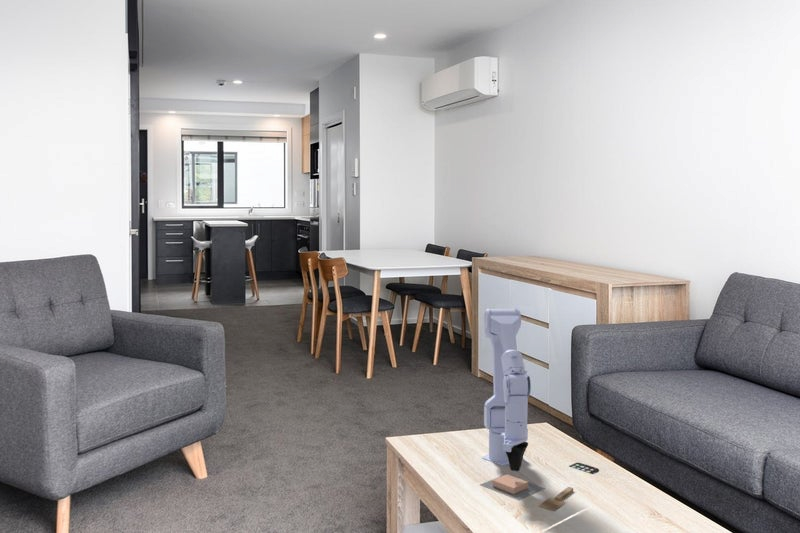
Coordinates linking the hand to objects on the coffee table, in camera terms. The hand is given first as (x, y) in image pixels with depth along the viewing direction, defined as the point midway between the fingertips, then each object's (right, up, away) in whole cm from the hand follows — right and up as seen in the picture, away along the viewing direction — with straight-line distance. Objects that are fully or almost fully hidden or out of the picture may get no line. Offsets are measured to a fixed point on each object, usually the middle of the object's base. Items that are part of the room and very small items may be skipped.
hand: (515, 470), depth 187 cm
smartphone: (+18, -4, +10) cm, 21 cm away
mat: (-1, -5, 0) cm, 5 cm away
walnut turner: (+9, -6, -9) cm, 14 cm away
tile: (+1, -3, +1) cm, 3 cm away
